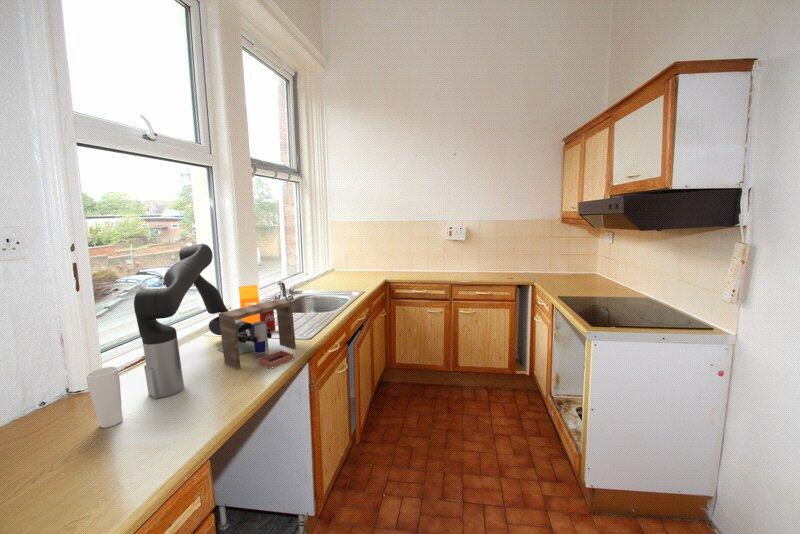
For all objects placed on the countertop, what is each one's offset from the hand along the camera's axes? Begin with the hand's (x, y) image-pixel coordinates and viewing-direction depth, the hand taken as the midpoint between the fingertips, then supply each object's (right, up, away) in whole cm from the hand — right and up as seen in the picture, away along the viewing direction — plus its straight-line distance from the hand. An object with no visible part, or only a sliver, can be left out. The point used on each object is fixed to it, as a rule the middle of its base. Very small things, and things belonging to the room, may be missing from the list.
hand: (263, 337), depth 147 cm
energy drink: (-2, -7, +3) cm, 7 cm away
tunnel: (-2, -8, +3) cm, 8 cm away
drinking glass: (-27, -16, -41) cm, 52 cm away
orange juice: (-22, -2, +45) cm, 50 cm away
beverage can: (-9, -4, +32) cm, 34 cm away
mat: (-14, -7, +13) cm, 20 cm away
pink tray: (+6, -8, -3) cm, 11 cm away
